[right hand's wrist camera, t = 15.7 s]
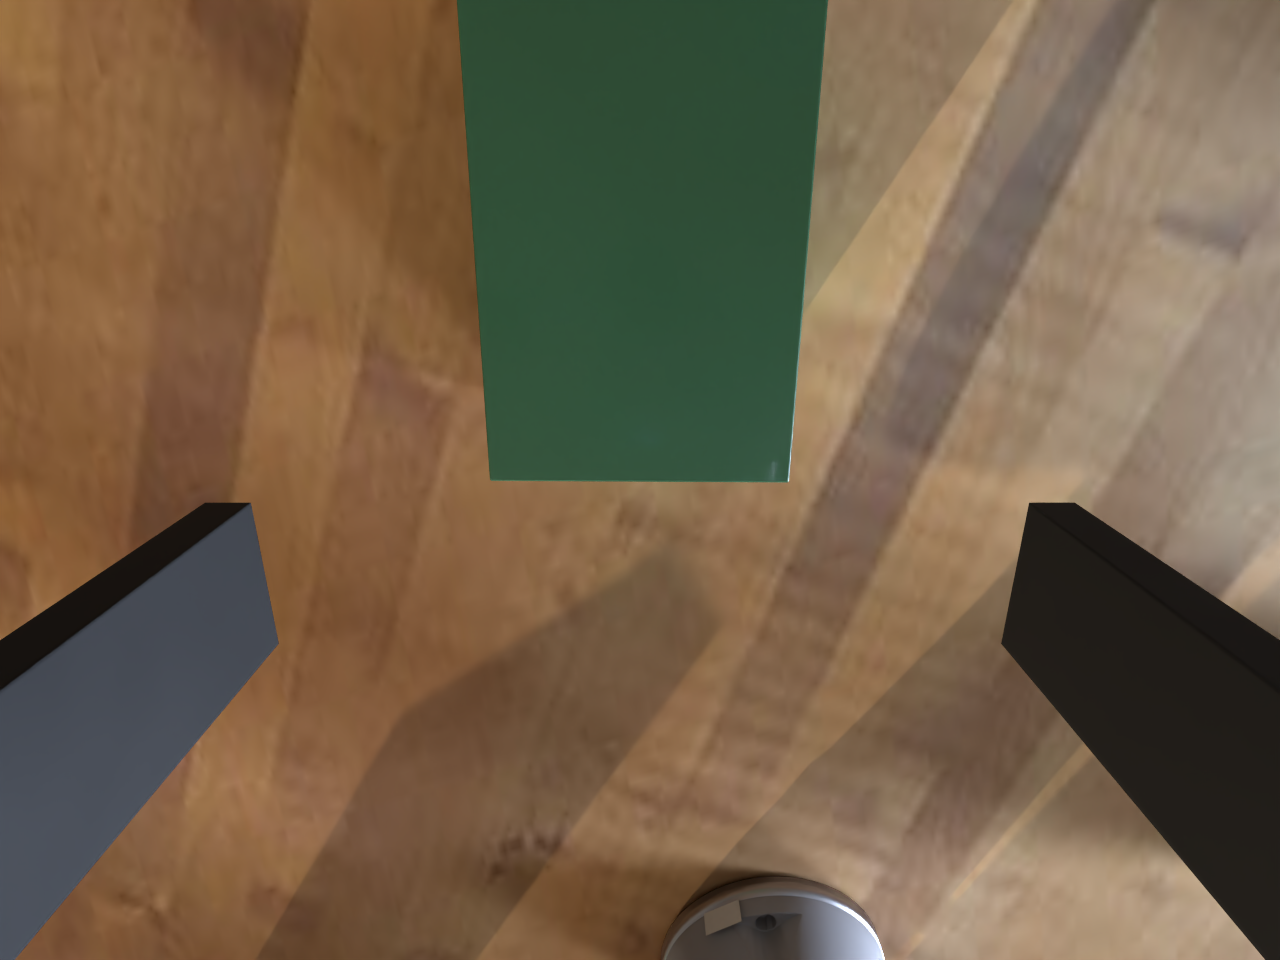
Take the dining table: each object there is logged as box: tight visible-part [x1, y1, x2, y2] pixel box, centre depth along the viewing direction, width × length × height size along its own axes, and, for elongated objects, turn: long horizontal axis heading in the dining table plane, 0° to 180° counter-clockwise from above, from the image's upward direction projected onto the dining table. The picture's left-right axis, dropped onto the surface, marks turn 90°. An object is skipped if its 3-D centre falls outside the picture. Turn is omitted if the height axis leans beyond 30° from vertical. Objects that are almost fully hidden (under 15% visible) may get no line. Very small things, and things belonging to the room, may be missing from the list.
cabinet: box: [457, 0, 828, 482], centre depth 29 cm, size 17×11×12 cm, turn 0°
